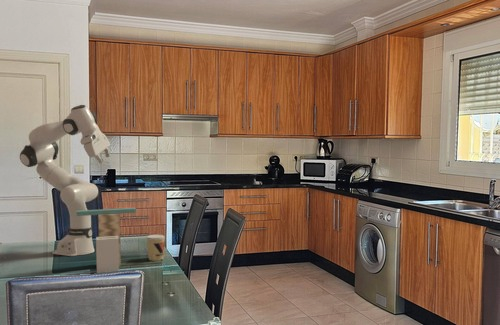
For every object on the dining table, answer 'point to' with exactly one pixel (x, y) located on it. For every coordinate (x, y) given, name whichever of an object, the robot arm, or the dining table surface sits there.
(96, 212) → the teal board
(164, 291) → the dining table surface
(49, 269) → the dining table surface
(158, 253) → the coffee cup
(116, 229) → the birch stand
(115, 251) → the grey slot box
